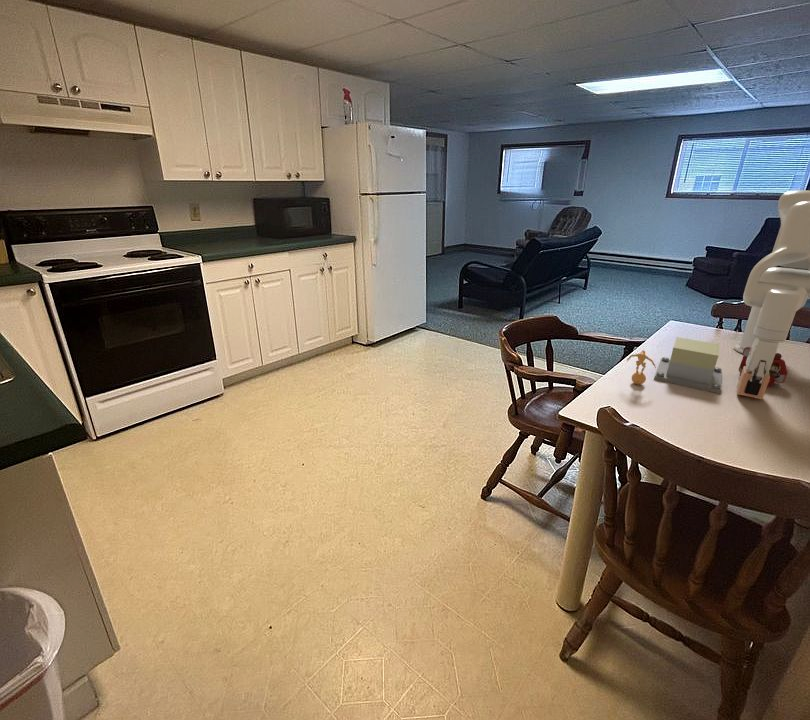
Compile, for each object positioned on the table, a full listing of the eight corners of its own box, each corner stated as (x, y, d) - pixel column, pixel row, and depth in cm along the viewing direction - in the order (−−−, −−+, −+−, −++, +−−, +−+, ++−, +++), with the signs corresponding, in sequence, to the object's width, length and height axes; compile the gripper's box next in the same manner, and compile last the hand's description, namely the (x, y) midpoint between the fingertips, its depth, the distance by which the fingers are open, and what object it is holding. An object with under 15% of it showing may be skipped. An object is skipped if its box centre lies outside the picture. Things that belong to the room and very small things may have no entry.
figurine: (653, 385, 138) (662, 350, 133) (647, 392, 134) (656, 355, 129) (625, 378, 143) (633, 343, 138) (619, 384, 139) (627, 348, 134)
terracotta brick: (736, 386, 135) (743, 365, 133) (761, 391, 132) (768, 370, 130) (737, 393, 131) (744, 372, 128) (762, 399, 128) (770, 377, 125)
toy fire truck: (779, 390, 135) (791, 359, 131) (732, 378, 144) (741, 348, 140) (784, 384, 140) (795, 354, 136) (738, 372, 148) (747, 343, 144)
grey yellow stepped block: (660, 361, 156) (667, 332, 152) (720, 373, 147) (730, 343, 143) (653, 379, 142) (661, 348, 138) (720, 393, 133) (730, 361, 129)
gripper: (752, 322, 133) (734, 376, 140) (754, 339, 119) (735, 397, 127) (784, 327, 129) (764, 382, 136) (790, 345, 116) (767, 404, 123)
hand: (750, 389), depth 131 cm, fingers closed on terracotta brick, 6 cm apart
